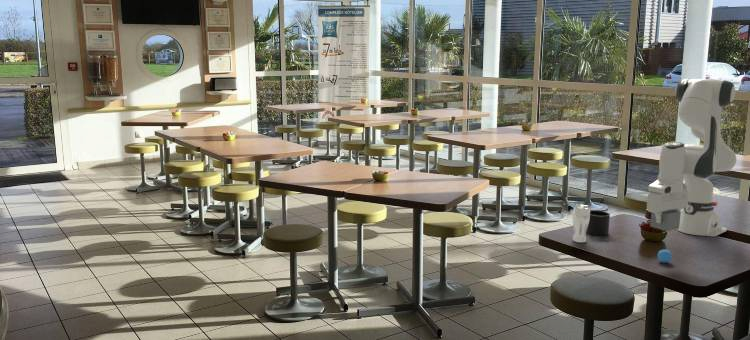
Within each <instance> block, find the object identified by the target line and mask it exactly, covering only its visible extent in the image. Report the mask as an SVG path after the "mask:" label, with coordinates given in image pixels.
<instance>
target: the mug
mask: <svg viewBox="0 0 750 340" xmlns="http://www.w3.org/2000/svg"><path fill="white" fill-rule="evenodd" d="M610 217H611V214H610V213H609V212H608V211H607V212H606V211H602V210H590V221H589V225H588V229H587V234H588V235H590V236H596V237H604V236H607V235H609V232H610V231H609V230H610Z"/></svg>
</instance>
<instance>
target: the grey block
mask: <svg viewBox="0 0 750 340" xmlns="http://www.w3.org/2000/svg"><path fill="white" fill-rule="evenodd" d="M650 214H651V215H650V223H649V227H650V228H655V229H657V230H661V231H666V232H671V231H674V230H677V229H679V225H680V215H681V212H680V211H676V210H669V211H664V212H662V214H661V218H663V222H662V223H657V222H656V216H655V213H653V212H651V213H650Z"/></svg>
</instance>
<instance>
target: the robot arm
mask: <svg viewBox="0 0 750 340" xmlns="http://www.w3.org/2000/svg"><path fill="white" fill-rule="evenodd" d="M674 91H675V98H676V100H677V101H678V102H679V103H680V104H679V107H678V117H679V119H680V121H681V122H682V123H683V124H684V125H686V126H687V127H688V128H690V131H691V134H692V135H693V136H694V137H696V138H697V139H699V140H701V141H703V145H702V144H691V143H690V144H689V143H687V144H685V143H683V142H680V141H668V142H665V143H663V145H662V147H661V151H660V156H659V162H658V163H659V164H658V167H659V173H658V175H657V180H655V181H653V182H652V183H651V184H649V185H648V188H647V191H649V193H648V194H647V198H646V210H647V211H648V212H649V213H652V212H653V213H655V216H656V222H657V223H662V222H663V218H661V214H662V212H664V211H669V210H676V211H680V212H681V215H680V225H679V229H676V230H677V231H679V232H680V233H684V234H687V235H692V236H693V235H694V236H703V237H704V236H706V237H717V236H719V235H721V234H723V233H726V232H727V228H726V227H725V226H722V222H723V221H722V220H723V219H722V217H721V216H720V215H719V214H718V213H717V212H716V211H715V209H714V207H717V206H718V201H714V200H713V195H714V183H713V182H711V180H709V179H708V178H709V177H711V176H713V175H715V173H716V172H717V173H718V172H720V173H721V172H729V171H731V170H733V168H734V167H735V166H736V163H737V155H736V153H735V151H734V150H733V149H732V148H730V147H729V145H727V144H726V142H725V141H724V139H723V138H722V134H721V132H722V131H721V123H722V108H724V107H728V106H729V105H731V104H732V103H733V101H734V99H735V96H736V87H735V84H734V83H733V82H732V81H729V80H721V79H720V80H719V79H715V78H714V79H713V78H692V79H691V78H683V79H681V80H679V81H678V83H677V86H676V87H675V90H674Z"/></svg>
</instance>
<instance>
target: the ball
mask: <svg viewBox="0 0 750 340" xmlns="http://www.w3.org/2000/svg"><path fill="white" fill-rule="evenodd" d="M672 258H673V256H672V252H671V251H670V250H668V249H661V250H659V251H658V253H657V260H659V262H660V263H663V264H664V263H665V264H666V263H670V261H671V260H672Z"/></svg>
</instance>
